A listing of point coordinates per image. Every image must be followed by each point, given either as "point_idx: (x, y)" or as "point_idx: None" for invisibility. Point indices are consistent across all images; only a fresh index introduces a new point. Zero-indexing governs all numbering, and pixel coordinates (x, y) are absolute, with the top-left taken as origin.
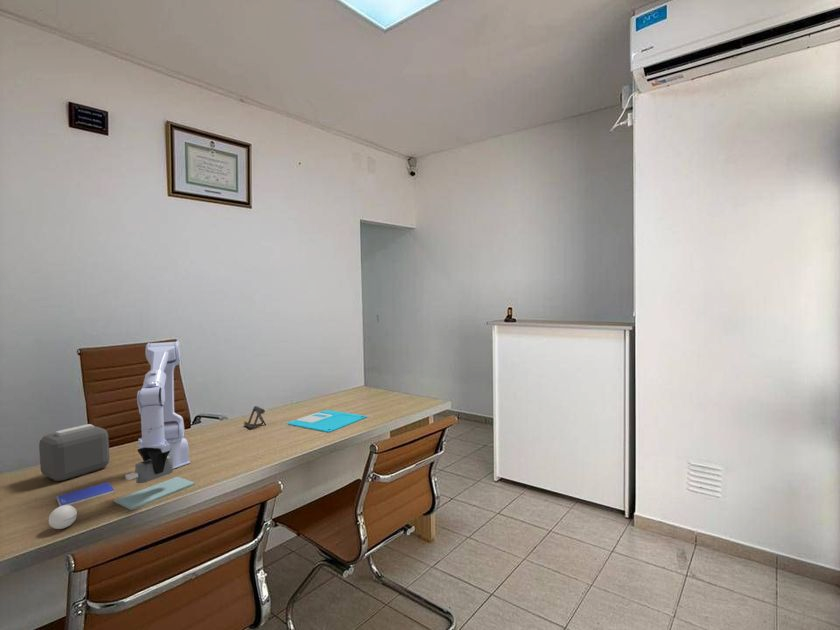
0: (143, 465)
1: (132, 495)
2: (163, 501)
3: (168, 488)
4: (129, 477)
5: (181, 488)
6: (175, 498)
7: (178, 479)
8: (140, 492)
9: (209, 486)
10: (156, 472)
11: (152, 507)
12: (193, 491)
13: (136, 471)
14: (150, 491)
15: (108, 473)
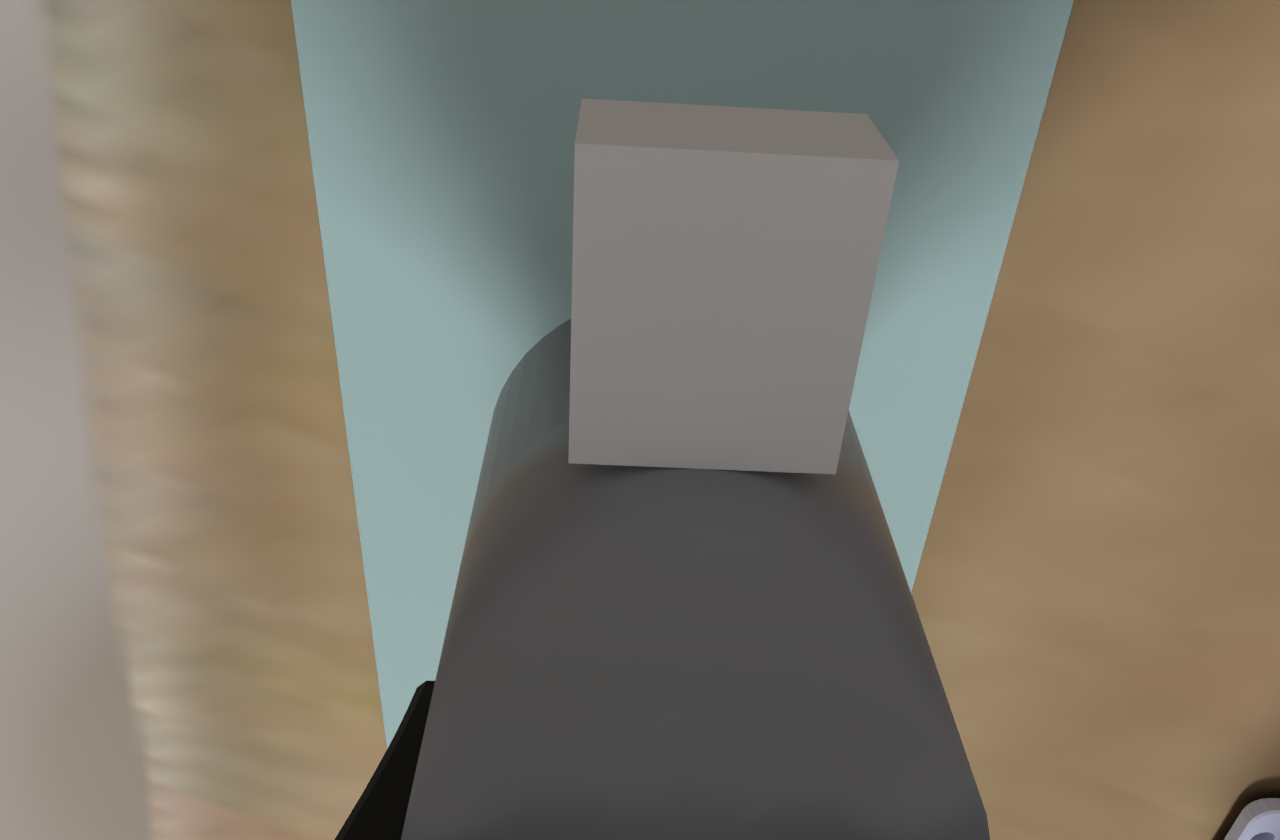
0: (442, 800)
1: (911, 169)
2: (173, 314)
3: None
4: (581, 155)
5: (376, 642)
6: (130, 450)
7: None
8: (880, 307)
9: (162, 795)
10: (399, 725)
11: (55, 93)
12: (173, 659)
13: (687, 501)
14: None
15: None
